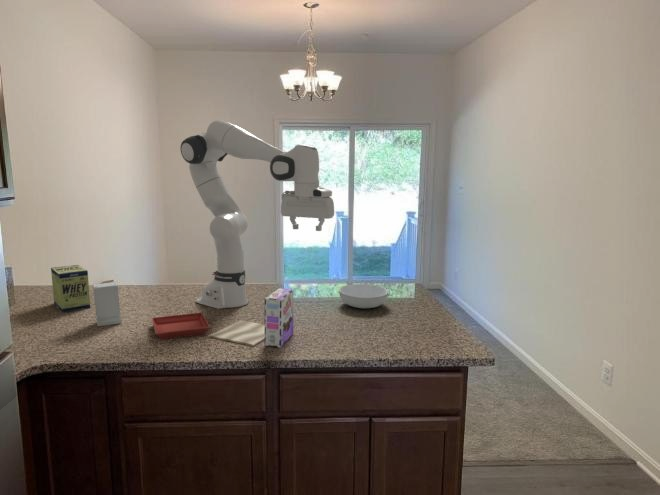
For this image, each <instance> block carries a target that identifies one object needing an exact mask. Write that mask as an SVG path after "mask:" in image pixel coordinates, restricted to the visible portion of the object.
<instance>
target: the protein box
mask: <svg viewBox="0 0 660 495" xmlns="http://www.w3.org/2000/svg"><path fill="white" fill-rule="evenodd" d="M50 271H51V281H52V283H51V284H52V295H53V303H54V305H55V306H56V308H58V310H59V311H61V313H66V312H73V311H80V310H84V309H90V308H91V300H90V299H91V298H90V297H91V296H90V286H89V285H90V284H89V283H90V282H89V273H88V270H87V269H86V268H84V267H83V266H81V265H78V264H74V265H64V266H55V267H51V268H50Z"/></svg>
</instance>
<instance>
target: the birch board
mask: <svg viewBox="0 0 660 495" xmlns="http://www.w3.org/2000/svg"><path fill="white" fill-rule="evenodd" d="M209 337H210V338H213V339H218V340H222V341H227V342H232V343H237V344H240V345H246V346H251V347H255V346H257V345H258V344H260V343H262V342H265V323H264V324H262V323H258V322H252V321H246V320H242V319H241V320H238V321H237V322H234V323H233V324H230V325H228V326H226V327H224V328H222V329H220V330H218V331H216V332H214V333H211V334H210V335H209Z"/></svg>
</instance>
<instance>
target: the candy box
mask: <svg viewBox="0 0 660 495" xmlns="http://www.w3.org/2000/svg"><path fill="white" fill-rule="evenodd" d="M264 325H265V340H264V346H266V347H273V348H278V349H279V348H282V347H283V346H284V345H285V343H287V341H288V340H289V339H290V338H291V337H292V336H293V335H294V289H291V288H279V287H278V288H277V289H276V290H275V291H273V292H272V293H269V295H268V296H267V297H264Z"/></svg>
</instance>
